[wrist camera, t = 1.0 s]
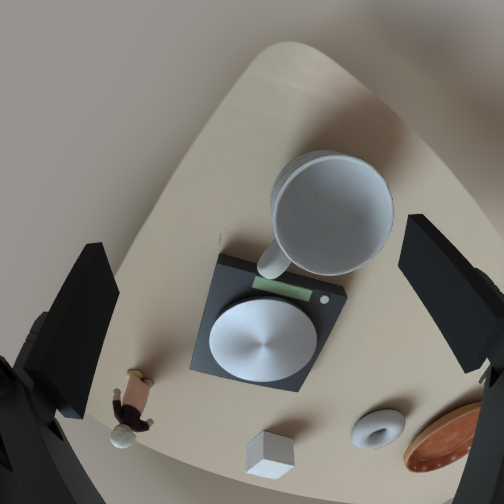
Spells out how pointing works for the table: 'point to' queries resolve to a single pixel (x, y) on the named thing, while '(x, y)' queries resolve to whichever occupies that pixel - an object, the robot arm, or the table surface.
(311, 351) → the scale pan
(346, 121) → the table surface
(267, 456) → the white cube
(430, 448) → the saucer
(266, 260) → the teacup
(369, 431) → the donut
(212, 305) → the scale
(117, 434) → the grandmother figurine
